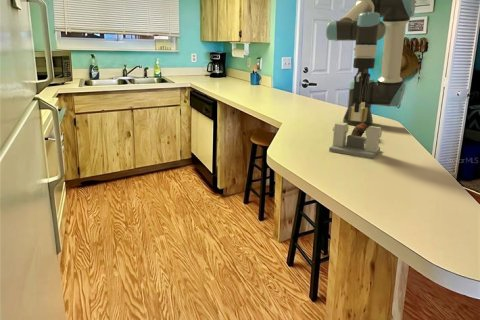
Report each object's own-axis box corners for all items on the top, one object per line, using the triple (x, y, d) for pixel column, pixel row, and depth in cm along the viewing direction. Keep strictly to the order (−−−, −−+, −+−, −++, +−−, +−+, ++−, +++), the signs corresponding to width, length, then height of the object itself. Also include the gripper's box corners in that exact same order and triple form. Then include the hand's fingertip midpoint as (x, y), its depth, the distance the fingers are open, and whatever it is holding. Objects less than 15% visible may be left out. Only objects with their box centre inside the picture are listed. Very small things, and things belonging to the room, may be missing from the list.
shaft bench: (337, 144, 157) (339, 120, 153) (381, 151, 147) (385, 125, 144) (327, 151, 147) (329, 125, 144) (374, 158, 138) (377, 131, 134)
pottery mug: (351, 135, 173) (361, 121, 170) (368, 147, 169) (379, 132, 167) (345, 134, 162) (356, 119, 160) (363, 147, 159) (374, 131, 156)
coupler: (351, 118, 146) (352, 105, 145) (366, 120, 143) (368, 107, 142) (348, 120, 143) (349, 107, 142) (363, 122, 140) (365, 108, 138)
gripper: (360, 56, 145) (354, 114, 152) (347, 57, 131) (341, 121, 138) (380, 56, 141) (373, 116, 148) (368, 58, 127) (361, 124, 134)
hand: (357, 119), depth 143 cm, fingers closed on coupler, 4 cm apart
